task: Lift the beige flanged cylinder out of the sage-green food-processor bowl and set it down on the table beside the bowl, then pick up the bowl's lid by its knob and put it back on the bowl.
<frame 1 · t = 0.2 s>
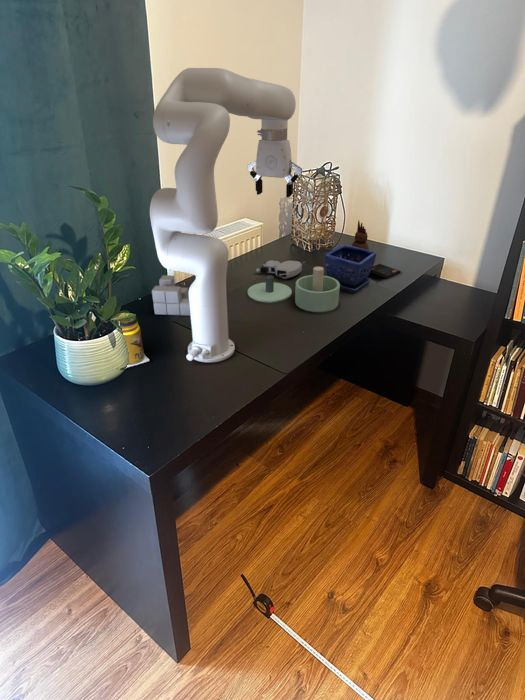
hand: (274, 195, 153), 31 cm above the table, tool pointing down, fingers open, 9 cm apart
processor bowl: (316, 303, 158), on the table
condiment: (129, 360, 130), on the table
puzzle cube: (178, 307, 157), on the table
calculator: (379, 274, 178), on the table
lid: (269, 292, 164), point 1 cm above the table
beige flanged cylinder: (316, 302, 157), resting on processor bowl
flower pot: (347, 286, 169), on the table
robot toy: (280, 275, 178), on the table
wooden figurine: (358, 260, 190), on the table
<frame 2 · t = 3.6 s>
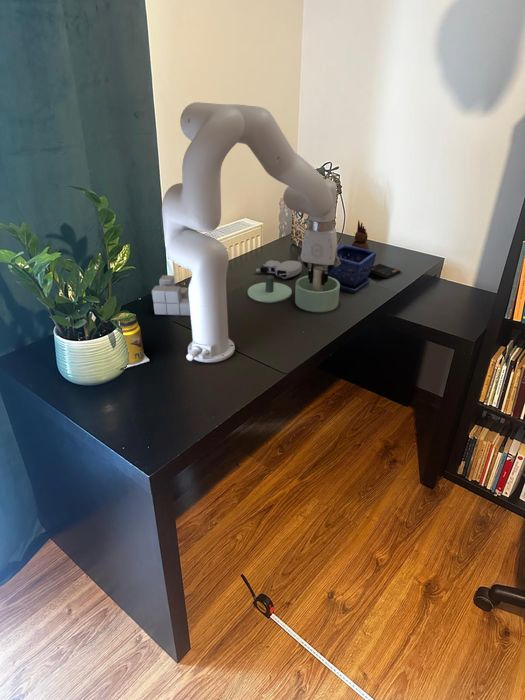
hand: (317, 282, 154), 7 cm above the table, tool pointing down, fingers closed on beige flanged cylinder, 3 cm apart
beige flanged cylinder: (316, 302, 157), point 1 cm above the table, touching gripper, processor bowl
everything else where it was.
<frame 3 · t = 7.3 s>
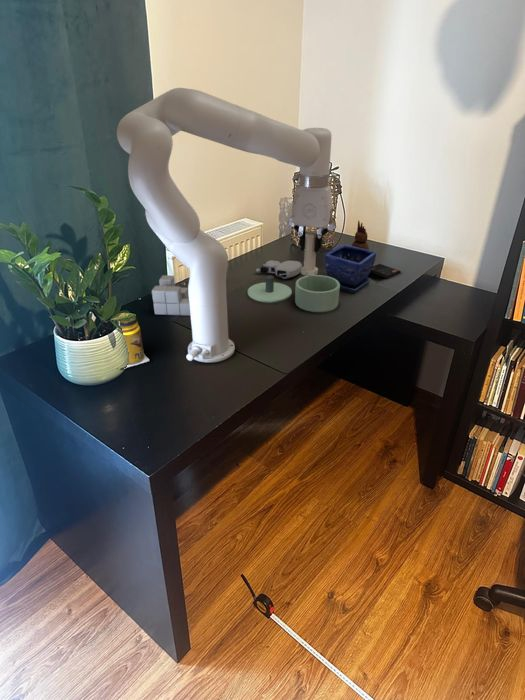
hand: (310, 249, 136), 22 cm above the table, tool pointing down, fingers closed on beige flanged cylinder, 3 cm apart
beige flanged cylinder: (309, 272, 140), point 15 cm above the table, touching gripper
everything else where it was.
when the fingers open (7 cm above the table, at t = 11.1 s): beige flanged cylinder stays where it is, on the table.
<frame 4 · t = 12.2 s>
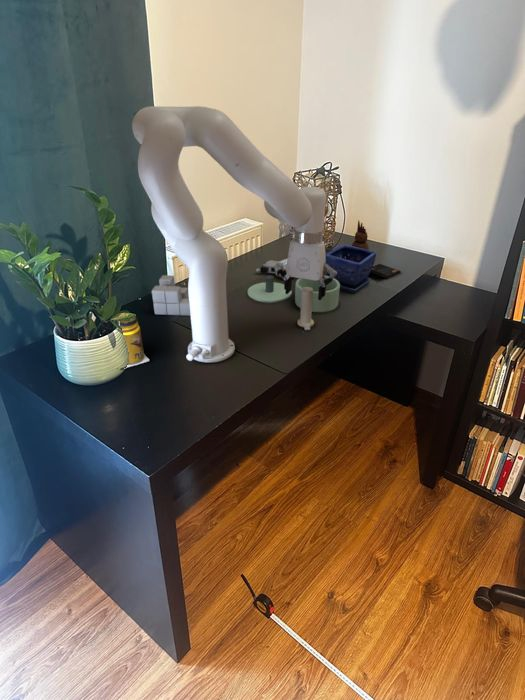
hand: (304, 295, 140), 10 cm above the table, tool pointing down, fingers open, 9 cm apart
beige flanged cylinder: (305, 325, 146), on the table
everything else where it was.
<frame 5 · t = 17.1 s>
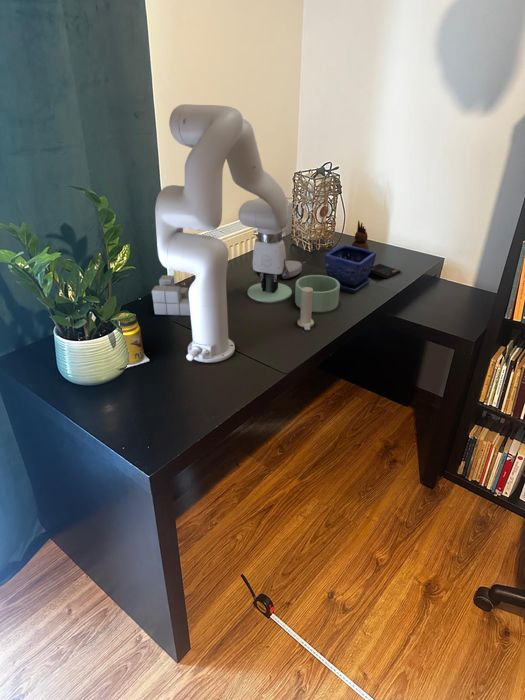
hand: (269, 290, 163), 1 cm above the table, tool pointing down, fingers closed on lid, 2 cm apart
lid: (269, 292, 163), point 1 cm above the table, touching gripper
everything else where it was.
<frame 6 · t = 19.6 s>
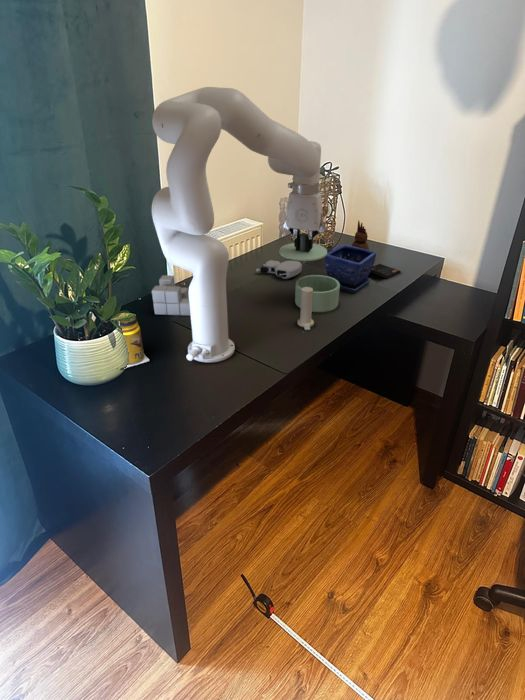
hand: (303, 249, 151), 17 cm above the table, tool pointing down, fingers closed on lid, 2 cm apart
lid: (303, 252, 151), point 16 cm above the table, touching gripper
everything else where it was.
when the fingers open (8 cm above the table, at t = 22.5 s): lid stays where it is, resting on processor bowl.
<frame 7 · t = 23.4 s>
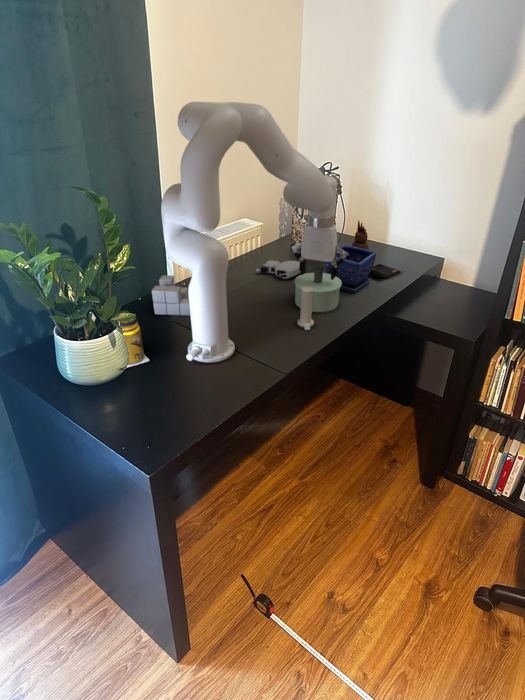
hand: (317, 275, 153), 10 cm above the table, tool pointing down, fingers open, 9 cm apart
lid: (317, 283, 154), point 7 cm above the table, touching processor bowl
everything else where it was.
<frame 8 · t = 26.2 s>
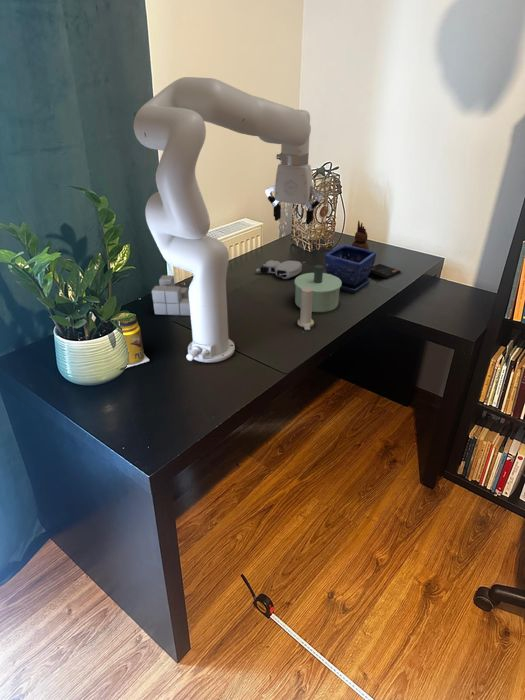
hand: (293, 221, 145), 26 cm above the table, tool pointing down, fingers open, 9 cm apart
nothing on the table moved.
at the end: beige flanged cylinder inside the target area (0.2 cm from its centre), on the table; lid 0.1 cm off-centre on the processor bowl, point 7.0 cm above the processor bowl's base; lid tilted 0° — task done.
